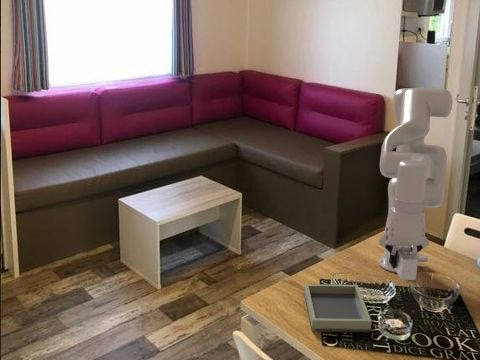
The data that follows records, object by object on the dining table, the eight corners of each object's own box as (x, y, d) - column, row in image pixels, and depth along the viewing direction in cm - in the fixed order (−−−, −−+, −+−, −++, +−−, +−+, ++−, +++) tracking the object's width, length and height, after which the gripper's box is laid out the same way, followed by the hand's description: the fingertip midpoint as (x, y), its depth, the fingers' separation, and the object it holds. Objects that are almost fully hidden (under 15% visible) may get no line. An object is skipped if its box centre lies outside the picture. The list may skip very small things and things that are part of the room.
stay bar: (401, 256, 167) (403, 237, 165) (415, 279, 154) (418, 259, 152) (387, 256, 167) (389, 237, 165) (400, 279, 154) (403, 259, 152)
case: (356, 295, 175) (357, 284, 173) (370, 332, 156) (371, 321, 155) (304, 294, 175) (304, 284, 173) (311, 331, 156) (312, 320, 154)
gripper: (434, 200, 158) (426, 260, 164) (374, 200, 158) (368, 259, 164) (443, 210, 151) (435, 272, 157) (380, 210, 151) (374, 272, 157)
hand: (401, 265), depth 160 cm, fingers closed on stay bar, 4 cm apart
